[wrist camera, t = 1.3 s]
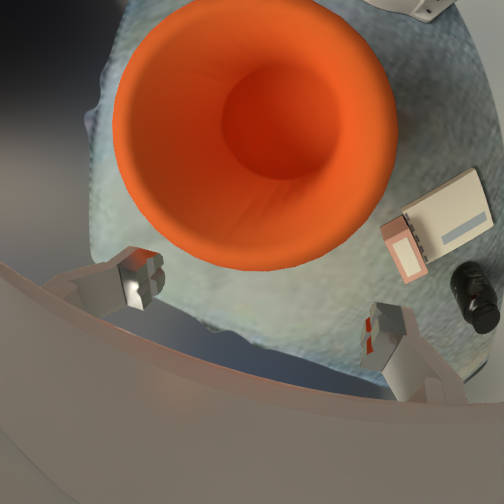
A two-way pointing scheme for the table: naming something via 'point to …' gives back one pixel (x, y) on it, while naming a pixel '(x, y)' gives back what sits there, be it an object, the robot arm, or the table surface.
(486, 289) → the supplement bottle
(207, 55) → the flowerpot
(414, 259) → the pink box
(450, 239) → the cream flat block
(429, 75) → the table surface
